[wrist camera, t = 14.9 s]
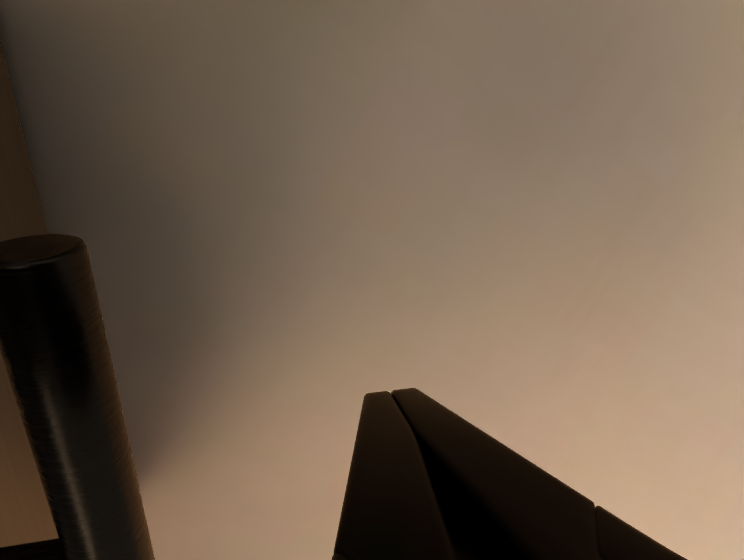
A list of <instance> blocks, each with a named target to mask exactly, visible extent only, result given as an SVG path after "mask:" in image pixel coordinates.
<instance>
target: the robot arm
mask: <svg viewBox="0 0 744 560" xmlns="http://www.w3.org/2000/svg"><path fill="white" fill-rule="evenodd" d="M332 560H687V559H685V558H684V557H682V556H680V555H678V554H677V553H675V552H673V551H671V550H670V549H668V548H666V547H665V546H663V545H661V544H660V543H658V542H656V541H655V540H653V539H652V538H650V537H648V536H647V535H645V534H643V533H642V532H640V531H639V530H637V529H635V528H634V527H632V526H630V525H629V524H627V523H625V522H624V521H622V520H621V519H619V518H618V517H616V516H615V515H613V514H611V513H610V512H608V511H607V510H605V509H604V508H602V507H600V506H596V507H595V505H594V503H593V502H592V501H591V500H589V499H588V498H586V497H585V496H583V495H581V494H580V493H578V492H577V491H575V490H574V489H572V488H571V487H569V486H567V485H566V484H564V483H563V482H561V481H560V480H558V479H557V478H555V477H553V476H552V475H550V474H549V473H547V472H546V471H544V470H542V469H541V468H539V467H538V466H536V465H535V464H533V463H532V462H530V461H528V460H527V459H525V458H524V457H522V456H521V455H519V454H518V453H516V452H514V451H513V450H511V449H510V448H508V447H507V446H505V445H503V444H502V443H500V442H499V441H497V440H496V439H494V438H493V437H491V436H489V435H488V434H486V433H485V432H483V431H482V430H480V429H479V428H477V427H475V426H474V425H472V424H471V423H469V422H468V421H466V420H464V419H463V418H461V417H460V416H458V415H457V414H455V413H454V412H452V411H450V410H449V409H447V408H446V407H444V406H443V405H441V404H440V403H438V402H436V401H435V400H433V399H432V398H430V397H429V396H427V395H426V394H424V393H422V392H421V391H419V390H418V389H415V388H408V389H400V390H393V391H392V392H391V393H390V392H388V391H383V392H374V393H367V394H366V395H365V396H364V400H363V405H362V410H361V415H360V420H359V425H358V431H357V436H356V441H355V446H354V451H353V456H352V461H351V466H350V471H349V476H348V481H347V486H346V492H345V497H344V502H343V507H342V512H341V517H340V522H339V527H338V532H337V537H336V542H335V548H334V555H333V557H332Z"/></svg>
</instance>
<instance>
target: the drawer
mask: <svg viewBox="0 0 744 560" xmlns="http://www.w3.org/2000/svg"><path fill="white" fill-rule="evenodd" d="M0 560H155V558H154V554H153V549H152V544H151V540H150V535H149V531H148V526H147V521H146V517H145V512H144V508H143V503H142V498H141V494H140V489H139V485H138V480H137V476H136V471H135V466H134V462H133V457H132V453H131V448H130V443H129V439H128V434H127V430H126V425H125V420H124V416H123V411H122V407H121V402H120V398H119V393H118V388H117V384H116V379H115V375H114V370H113V365H112V361H111V356H110V352H109V347H108V342H107V338H106V333H105V329H104V324H103V319H102V315H101V310H100V306H99V301H98V297H97V292H96V287H95V283H94V278H93V274H92V269H91V264H90V260H89V255H88V251H87V246H86V244H85V243H84V241H83V240H82V239H81V238H79V237H76V236H70V235H62V234H48V233H47V229H46V225H45V221H44V216H43V212H42V208H41V204H40V200H39V196H38V192H37V188H36V184H35V180H34V176H33V172H32V168H31V164H30V160H29V156H28V152H27V147H26V143H25V139H24V135H23V131H22V127H21V123H20V119H19V115H18V111H17V107H16V103H15V99H14V95H13V91H12V87H11V83H10V78H9V74H8V70H7V66H6V62H5V58H4V54H3V50H2V46H1V42H0Z"/></svg>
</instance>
